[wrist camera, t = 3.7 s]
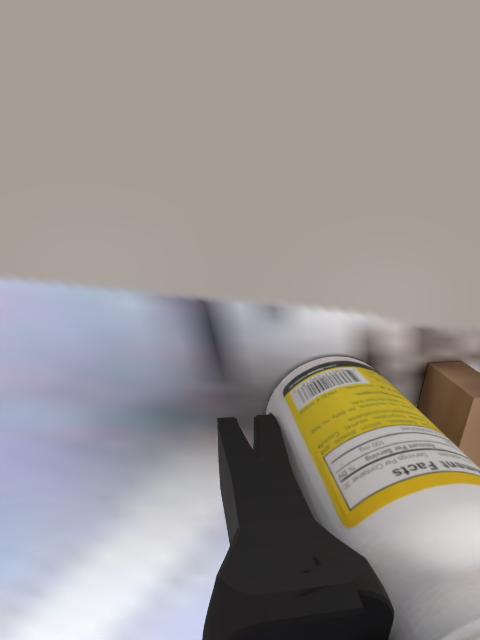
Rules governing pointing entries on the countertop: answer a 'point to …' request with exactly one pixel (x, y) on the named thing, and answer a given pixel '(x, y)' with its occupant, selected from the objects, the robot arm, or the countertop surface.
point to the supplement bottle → (387, 491)
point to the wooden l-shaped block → (454, 404)
